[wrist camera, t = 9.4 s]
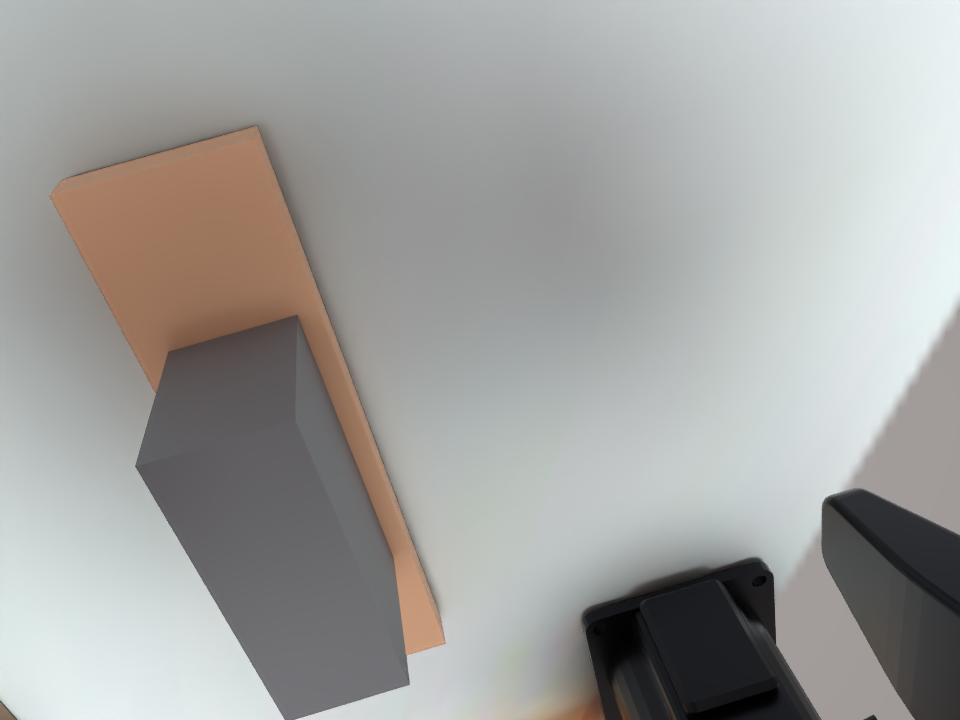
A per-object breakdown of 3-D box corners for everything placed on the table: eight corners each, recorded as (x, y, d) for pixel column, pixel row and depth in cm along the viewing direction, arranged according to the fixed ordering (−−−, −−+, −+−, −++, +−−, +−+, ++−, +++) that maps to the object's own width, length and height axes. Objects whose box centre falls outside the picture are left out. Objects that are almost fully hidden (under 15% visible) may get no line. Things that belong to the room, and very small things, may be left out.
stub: (440, 618, 26) (468, 771, 21) (312, 657, 26) (312, 819, 21) (256, 125, 17) (240, 213, 13) (62, 179, 17) (-23, 286, 13)
